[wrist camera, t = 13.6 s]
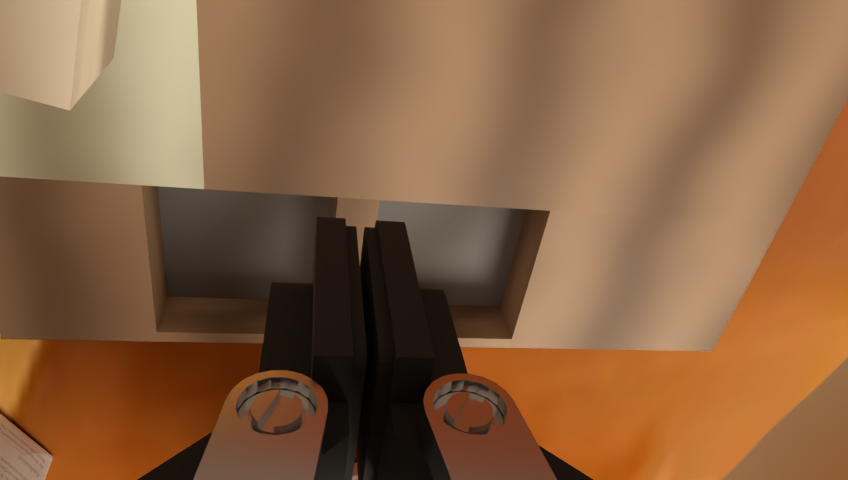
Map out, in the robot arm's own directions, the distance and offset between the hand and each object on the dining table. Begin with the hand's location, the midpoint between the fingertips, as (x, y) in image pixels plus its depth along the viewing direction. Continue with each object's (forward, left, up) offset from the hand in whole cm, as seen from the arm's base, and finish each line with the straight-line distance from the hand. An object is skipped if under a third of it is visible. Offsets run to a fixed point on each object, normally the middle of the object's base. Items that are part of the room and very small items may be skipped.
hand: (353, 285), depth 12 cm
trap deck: (-3, +3, -12) cm, 13 cm away
